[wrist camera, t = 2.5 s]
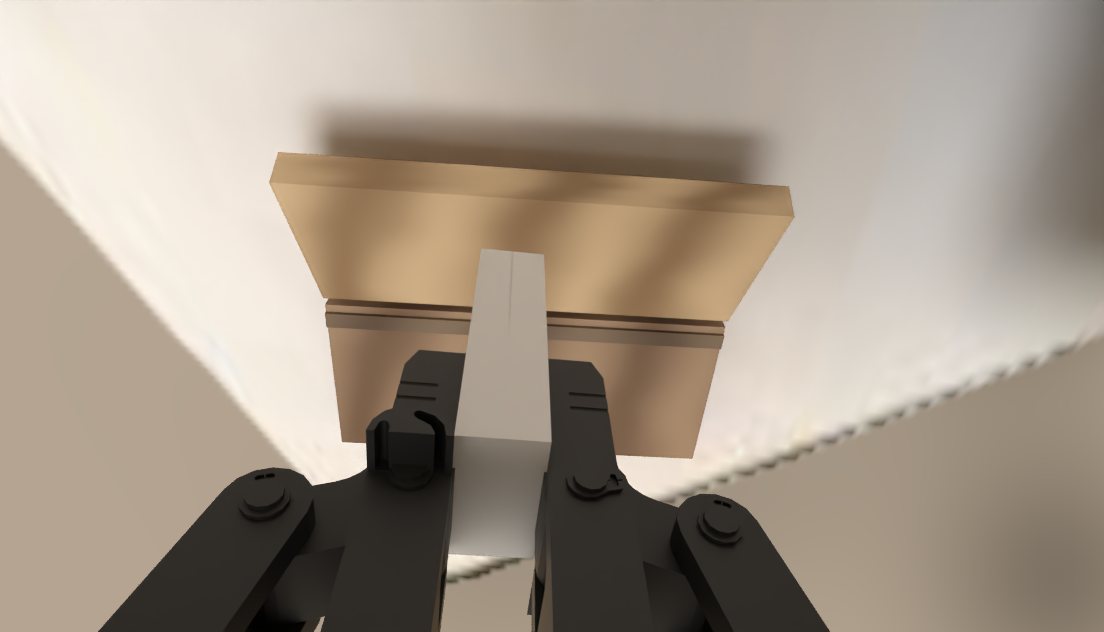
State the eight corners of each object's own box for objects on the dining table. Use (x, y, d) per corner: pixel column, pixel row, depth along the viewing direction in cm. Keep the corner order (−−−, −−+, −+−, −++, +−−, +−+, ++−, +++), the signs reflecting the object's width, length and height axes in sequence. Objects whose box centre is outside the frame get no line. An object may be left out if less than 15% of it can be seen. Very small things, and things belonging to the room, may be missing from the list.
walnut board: (718, 312, 35) (725, 329, 33) (687, 441, 39) (692, 461, 38) (333, 289, 34) (324, 306, 32) (348, 424, 38) (341, 444, 37)
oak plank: (788, 186, 26) (794, 216, 26) (724, 295, 34) (727, 321, 33) (278, 151, 25) (269, 182, 25) (329, 272, 33) (323, 298, 32)
